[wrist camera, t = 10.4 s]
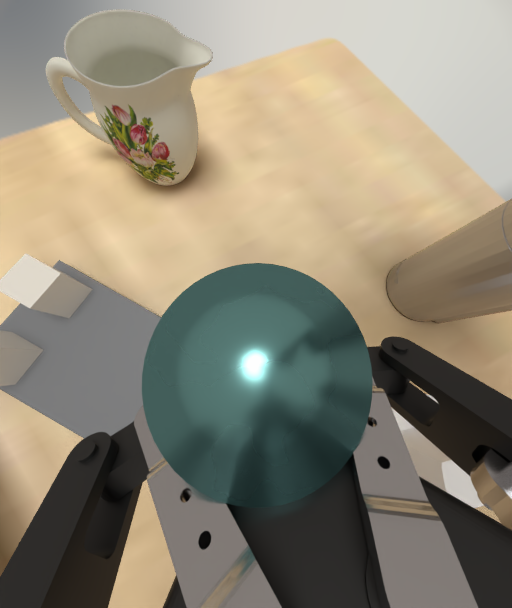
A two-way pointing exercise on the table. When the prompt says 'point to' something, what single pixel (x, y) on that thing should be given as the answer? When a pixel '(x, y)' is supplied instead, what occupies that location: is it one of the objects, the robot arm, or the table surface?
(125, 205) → the table surface
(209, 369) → the teal glass cylinder
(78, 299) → the cream cube
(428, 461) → the base with upright slab
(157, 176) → the pitcher
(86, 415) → the slate board
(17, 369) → the cream cube
